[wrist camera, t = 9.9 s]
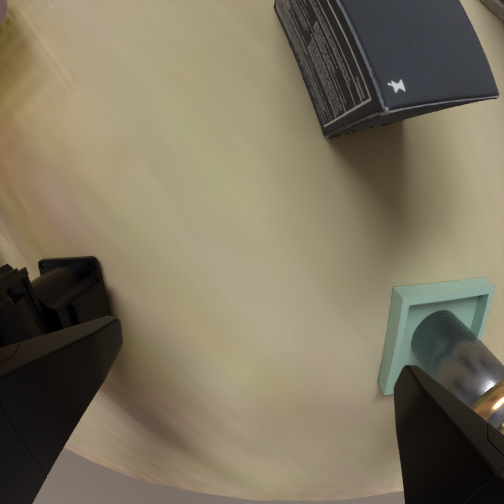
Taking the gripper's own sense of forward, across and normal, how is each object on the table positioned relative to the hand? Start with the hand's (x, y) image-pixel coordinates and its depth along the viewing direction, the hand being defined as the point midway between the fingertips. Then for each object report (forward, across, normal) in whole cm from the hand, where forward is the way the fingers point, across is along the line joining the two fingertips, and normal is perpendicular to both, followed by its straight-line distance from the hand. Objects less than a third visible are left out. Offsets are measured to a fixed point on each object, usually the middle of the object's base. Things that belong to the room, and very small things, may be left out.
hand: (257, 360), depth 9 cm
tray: (+14, -14, +6) cm, 21 cm away
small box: (+14, -3, -13) cm, 19 cm away
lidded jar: (+13, -14, +6) cm, 20 cm away
